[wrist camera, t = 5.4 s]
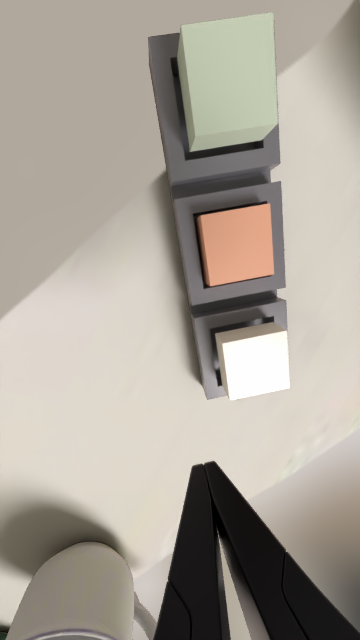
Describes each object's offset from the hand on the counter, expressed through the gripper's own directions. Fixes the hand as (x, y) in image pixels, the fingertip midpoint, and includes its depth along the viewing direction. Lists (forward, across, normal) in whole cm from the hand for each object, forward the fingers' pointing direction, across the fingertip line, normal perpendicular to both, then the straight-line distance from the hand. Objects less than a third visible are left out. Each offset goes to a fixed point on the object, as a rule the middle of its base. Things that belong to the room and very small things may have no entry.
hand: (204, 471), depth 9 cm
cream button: (+10, -5, +1) cm, 11 cm away
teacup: (+12, +13, +24) cm, 30 cm away
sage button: (+10, -5, -15) cm, 19 cm away
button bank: (+12, -5, -7) cm, 15 cm away
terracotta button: (+11, -5, -7) cm, 14 cm away
